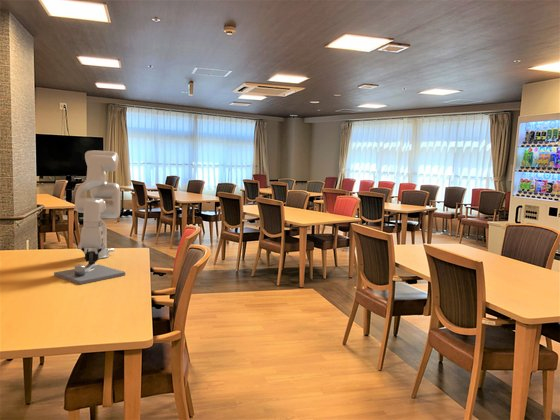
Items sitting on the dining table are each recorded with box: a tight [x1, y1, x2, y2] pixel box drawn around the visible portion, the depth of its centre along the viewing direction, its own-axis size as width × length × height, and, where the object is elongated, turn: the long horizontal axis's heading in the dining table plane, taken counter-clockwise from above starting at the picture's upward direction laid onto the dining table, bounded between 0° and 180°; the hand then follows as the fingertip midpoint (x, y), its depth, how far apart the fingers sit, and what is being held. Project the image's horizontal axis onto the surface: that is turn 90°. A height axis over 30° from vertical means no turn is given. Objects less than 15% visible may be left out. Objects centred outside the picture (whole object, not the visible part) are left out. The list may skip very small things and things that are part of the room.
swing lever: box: [74, 251, 96, 276], centre depth 207 cm, size 20×4×8 cm, turn 5°
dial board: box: [53, 264, 126, 285], centre depth 206 cm, size 23×22×2 cm
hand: (91, 260), depth 215 cm, fingers closed on swing lever, 3 cm apart
